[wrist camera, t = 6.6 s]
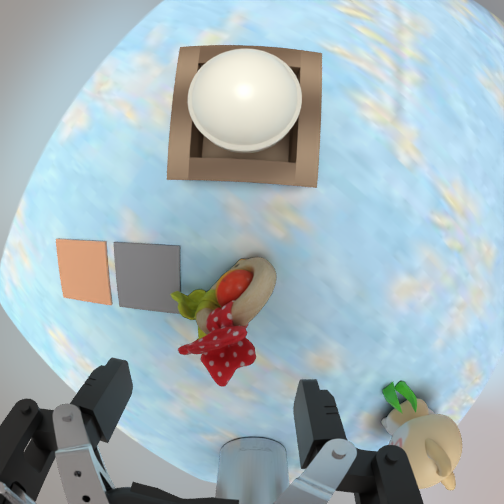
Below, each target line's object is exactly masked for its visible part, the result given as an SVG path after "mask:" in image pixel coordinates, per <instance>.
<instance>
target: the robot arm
mask: <svg viewBox="0 0 504 504" xmlns="http://www.w3.org/2000/svg"><path fill="white" fill-rule="evenodd" d="M132 390H133V384H132V380H131V375H130V371H129V366H128V362H127V361H126V360H121V359H116V358H111V359H110V360H109V361H108V363H107V364H106V365H105V366H102V365H101V366H99V367H98V368H96V369H95V370H93V372H92V373H91V374H90V376H89V377H88V379H87V380H86V381H85V384H83V386H82V387H81V388H80V390H79V391H78V393H77V394H76V396H75V397H74V398H73V400H72V402H71V403H70V404H62V405H60V406H58V407H56V409H55V410H47V409H40V408H39V407H38V405H37V403H36V402H35V401H33V400H31V399H22V400H20V401H18V402H17V403H16V404H15V406H14V407H13V408H12V410H11V411H10V413H9V414H8V415H7V417H6V418H5V420H4V421H3V422H2V424H1V426H0V504H36V503H35V501H36V499H37V497H38V494H39V492H40V489H41V487H42V485H43V483H44V480H45V478H46V476H47V474H48V472H49V469H50V467H51V465H52V463H53V461H54V459H55V457H56V461H57V465H58V470H59V474H60V477H61V481H62V484H63V488H64V492H65V495H66V498H67V501H68V504H327V502H328V501H329V499H330V498H331V497H332V495H333V493H334V491H335V490H336V491H344V492H352V493H354V496H355V502H356V504H423V500H422V497H421V494H420V491H419V488H418V485H417V482H416V479H415V476H414V473H413V470H412V467H411V465H410V462H409V459H408V456H407V454H406V452H405V451H404V450H403V449H402V448H401V447H399V446H396V445H386V446H383V447H382V448H380V449H379V450H378V452H376V451H366V450H360V449H357V448H356V447H355V446H354V445H353V444H352V443H351V442H350V441H348V440H347V438H346V435H345V432H344V429H343V425H342V422H341V419H340V415H339V414H338V409H337V407H336V403H335V399H334V397H333V396H332V395H331V394H330V392H329V391H328V390H320V389H319V385H318V382H317V380H316V379H301V380H300V381H299V384H298V388H297V393H296V397H295V401H294V420H295V427H296V434H297V442H298V449H299V457H300V464H301V469H306V470H305V471H304V472H303V473H302V474H301V476H300V477H299V478H296V479H295V480H294V481H293V482H292V483H291V484H290V485H289V476H288V466H287V457H286V450H285V448H284V447H283V446H282V445H281V444H280V443H278V442H276V441H273V440H270V439H265V438H241V439H237V440H233V441H231V442H229V443H227V444H225V445H224V446H223V447H222V448H221V451H220V459H219V468H218V476H217V486H216V496H215V498H213V497H211V498H196V499H182V498H179V497H177V496H174V495H172V494H170V493H167V492H165V491H162V490H160V489H158V488H155V487H151V486H147V485H143V484H139V483H135V482H133V483H132V486H131V487H121V488H115V486H114V484H113V482H112V481H111V479H110V477H109V474H108V472H107V469H106V467H105V464H104V461H103V459H102V456H101V453H100V451H99V448H98V446H97V445H98V443H99V441H103V442H107V443H108V442H109V440H110V438H111V435H112V434H113V431H114V429H115V427H116V425H117V423H118V421H119V419H120V417H121V415H122V413H123V411H124V409H125V407H126V405H127V403H128V401H129V399H130V397H131V394H132ZM30 439H31V441H30ZM29 441H30V443H29V445H28V446H27V444H28V442H29ZM26 446H27V448H26V450H25V452H24V449H25V447H26Z"/></svg>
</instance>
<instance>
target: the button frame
mask: <svg viewBox="0 0 504 504" xmlns="http://www.w3.org/2000/svg"><path fill="white" fill-rule="evenodd" d="M235 49H257V50H261V51H265V52H268V53H270V54H272V55H274V56H276V57H278V58H279V59H281V60H282V61H283V62H285V63H286V64H287V65H288V66H289V67H290V68H291V69H292V71H293V72H294V74H295V75H296V77H297V79H298V81H299V84H300V87H301V93H302V104H301V109H300V113H299V116H298V118H297V120H296V122H295V123H294V125H293V126H292V128H291V129H290V130H289V132H288V133H287V134H286V135H285V137H284V138H283V139H282V140H280V141H279V142H278V143H276V144H275V145H273V146H272V147H270V148H268V149H265V150H262V151H259V152H254V153H236V152H231V151H228V150H225V149H222V148H220V147H218V146H217V145H215V144H214V143H212V142H211V141H210V140H209V139H208V138H207V137H205V136H204V135H203V134H202V133H201V132H200V131H199V130H198V128H197V127H196V126H195V124H194V122H193V120H192V118H191V116H190V113H189V109H188V92H189V88H190V85H191V82H192V80H193V78H194V76H195V75H196V73H197V72H198V70H199V69H200V68H201V67H202V66H203V65H204V64H205V63H206V62H207V61H209V60H210V59H212V58H213V57H215V56H217V55H219V54H221V53H224V52H226V51H230V50H235ZM321 98H322V53H317V52H310V51H303V50H296V49H287V48H277V47H264V46H243V45H210V46H189V47H180V51H179V57H178V63H177V70H176V78H175V85H174V94H173V102H172V112H171V122H170V134H169V148H168V164H167V180H211V181H235V182H253V183H268V184H281V185H293V186H304V187H315V188H317V180H318V165H319V149H320V128H321Z"/></svg>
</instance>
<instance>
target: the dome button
mask: <svg viewBox="0 0 504 504" xmlns="http://www.w3.org/2000/svg"><path fill="white" fill-rule="evenodd" d="M301 104H302V93H301V87H300V84H299V81H298V79H297V77H296V75H295V74H294V72H293V71H292V69H291V68H290V67H289V66H288V65H287V64H286V63H285V62H283V61H282V60H281V59H279V58H278V57H276V56H274V55H272V54H270V53H268V52H265V51H261V50H257V49H235V50H230V51H226V52H224V53H221V54H219V55H217V56H215V57H213V58H212V59H210V60H209V61H207V62H206V63H205V64H204V65H203V66H202V67H201V68H200V69H199V70H198V72H197V73H196V75H195V76H194V78H193V80H192V82H191V85H190V88H189V92H188V109H189V113H190V116H191V118H192V120H193V122H194V124H195V126H196V127H197V128H198V130H199V131H200V132H201V133H202V134H203V135H204V136H205V137H207V138H208V139H209V140H210V141H211V142H212V143H214V144H215V145H217V146H218V147H220V148H222V149H225V150H228V151H231V152H236V153H254V152H259V151H262V150H265V149H268V148H270V147H272V146H273V145H275V144H276V143H278V142H279V141H280V140H282V139H283V138H284V137H285V135H286V134H287V133H288V132H289V130H290V129H291V128H292V126H293V125H294V123H295V122H296V120H297V118H298V116H299V113H300V109H301Z"/></svg>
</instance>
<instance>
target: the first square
mask: <svg viewBox="0 0 504 504" xmlns="http://www.w3.org/2000/svg"><path fill="white" fill-rule="evenodd" d="M114 256H115V269H116V280H117V290H118V299H119V306H120V307H127V308H134V309H142V310H150V311H158V312H167V313H177V314H180V312H179V310H178V302H177V301H175V300H174V299H173V298H172V297H171V295H170V294H171V293H173V292H175V291H179V292H181V286H180V246H176V245H159V244H142V243H125V242H114Z"/></svg>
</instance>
